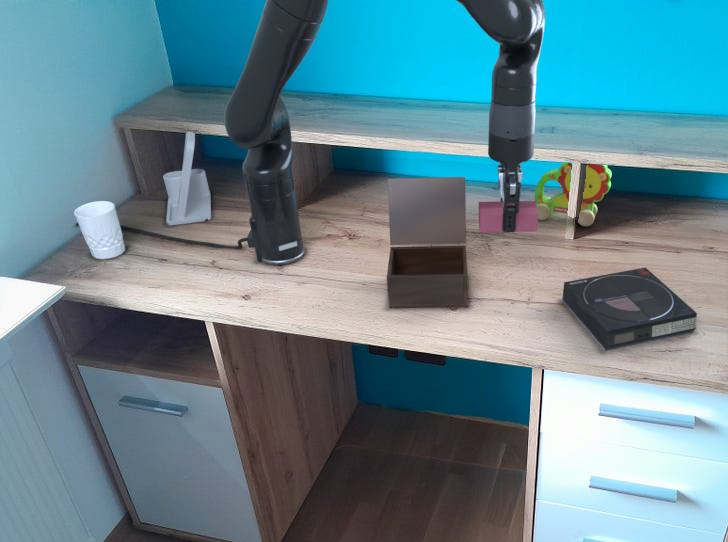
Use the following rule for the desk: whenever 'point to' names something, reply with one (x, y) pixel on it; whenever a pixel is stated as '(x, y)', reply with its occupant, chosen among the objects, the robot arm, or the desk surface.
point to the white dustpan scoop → (187, 190)
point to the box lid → (427, 210)
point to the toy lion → (593, 191)
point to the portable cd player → (628, 308)
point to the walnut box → (427, 277)
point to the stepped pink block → (494, 217)
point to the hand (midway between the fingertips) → (507, 223)
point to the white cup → (101, 229)
